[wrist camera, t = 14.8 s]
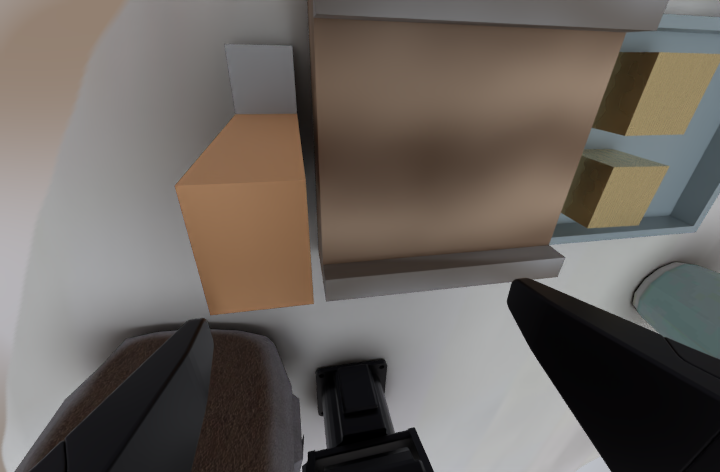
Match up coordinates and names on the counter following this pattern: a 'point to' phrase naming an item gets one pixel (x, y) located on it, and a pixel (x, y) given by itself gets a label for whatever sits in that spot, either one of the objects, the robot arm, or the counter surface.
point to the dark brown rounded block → (223, 410)
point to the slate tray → (668, 144)
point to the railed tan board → (453, 133)
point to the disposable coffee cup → (683, 305)
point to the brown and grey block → (252, 192)
